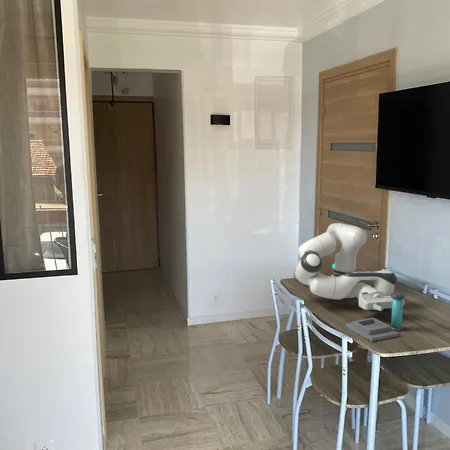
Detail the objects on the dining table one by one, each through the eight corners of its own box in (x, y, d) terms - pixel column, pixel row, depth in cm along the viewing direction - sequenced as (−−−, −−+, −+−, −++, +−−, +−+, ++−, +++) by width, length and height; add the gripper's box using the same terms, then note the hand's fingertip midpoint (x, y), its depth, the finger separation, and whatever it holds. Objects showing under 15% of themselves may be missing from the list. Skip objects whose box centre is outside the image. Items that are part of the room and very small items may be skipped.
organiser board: (345, 326, 213) (346, 319, 212) (371, 322, 218) (371, 314, 217) (371, 341, 196) (371, 333, 196) (398, 336, 201) (398, 328, 201)
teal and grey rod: (386, 327, 211) (387, 293, 209) (396, 325, 213) (398, 291, 211) (395, 332, 206) (397, 297, 203) (406, 330, 208) (408, 295, 205)
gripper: (394, 303, 228) (411, 313, 215) (355, 306, 224) (370, 316, 211) (394, 291, 227) (412, 300, 214) (356, 293, 223) (371, 303, 209)
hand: (391, 308), depth 212 cm, fingers open, 8 cm apart
